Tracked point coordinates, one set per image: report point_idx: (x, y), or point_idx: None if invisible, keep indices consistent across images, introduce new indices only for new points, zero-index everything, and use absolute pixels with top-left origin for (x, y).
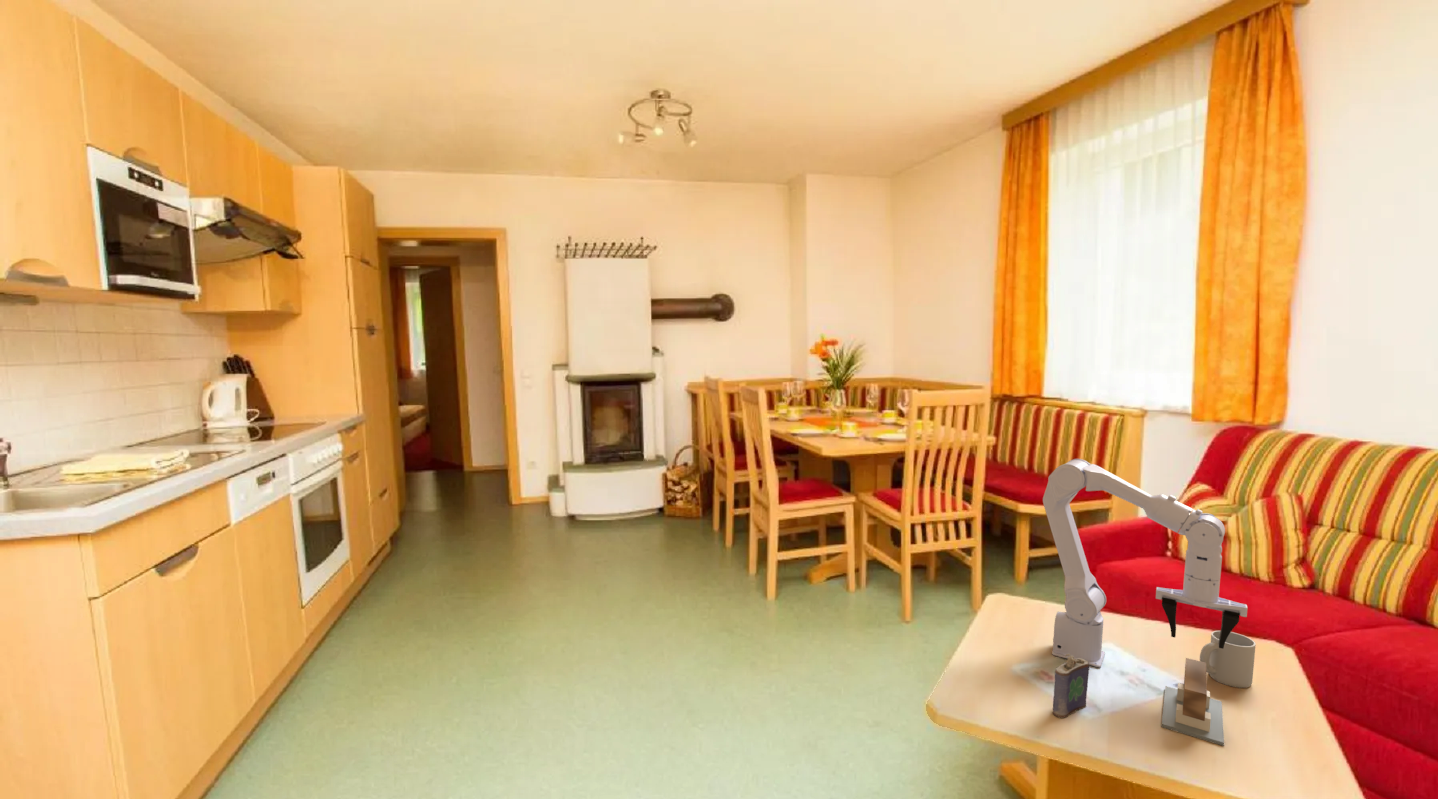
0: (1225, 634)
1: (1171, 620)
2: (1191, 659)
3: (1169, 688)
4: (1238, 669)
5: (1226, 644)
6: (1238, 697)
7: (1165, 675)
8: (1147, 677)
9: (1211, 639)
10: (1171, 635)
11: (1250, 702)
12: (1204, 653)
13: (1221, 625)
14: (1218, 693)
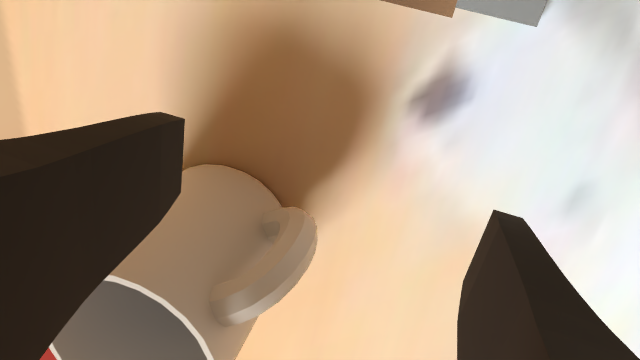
0: (52, 143)
1: (575, 322)
2: (414, 2)
3: (523, 3)
4: None
5: (161, 288)
6: (218, 76)
7: (480, 177)
8: (588, 125)
9: (228, 352)
10: (527, 224)
11: (181, 48)
12: (287, 258)
13: (71, 300)
14: (288, 81)
